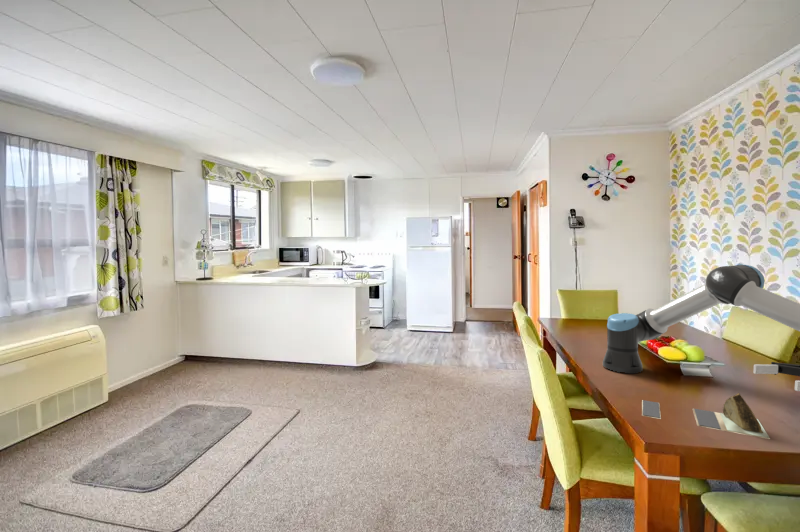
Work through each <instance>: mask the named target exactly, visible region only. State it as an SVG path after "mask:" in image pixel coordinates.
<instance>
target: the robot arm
mask: <svg viewBox="0 0 800 532" xmlns="http://www.w3.org/2000/svg"><path fill="white" fill-rule="evenodd" d="M764 286H765V277H764V275H763V273H762V271H760V269H758V268H757V267H755V266H753V265H748V264H742V263H741V264H735V265H724V266H718V267H716V268H714V269H712V270H711V271H710V272H709V273H708V274H707V276H706V279H705V283H704V284H702V285H701V286H698V287H696V288H695V289H693V290H690V291H689V292H687V293H685V294H683V295H680V296H679V297H677V298H675V299H673V300H671V301H668V302H667V303H665V304H662V305H661V306H660V307H657V308H655V309H654V308H647V309H645V310H643V311H641V312H639V313H637V314H634V313H629V312H625V313H624V312H622V313H614V314H611V315H609V316H608V318H607V324H606V330H607V332H606V335H607V336H606V337H607V342H606V344H607V345H606V346H607V347H606V352H605V354H604V357H603V360H602V367H603V366H604V367H606V368H608V369H610V370H609V371H611V370H613V371H612V372H615V371H617V372H616V373H620V372H625V373H624V374H639V373H638V372H640V373H641V371H642V372H643V363H642V360H641V358H640V354H639V343H640V342H645V341H652V340H655V339H658V338H659V337H660V336H661V335H663V334H665V333H666V332H667V331H668V329H669V327H671V326H674V325H676V324H678V323H680V322H682V321H685V320H686V319H688V318H692V317H694V316H695V315H697V314H699V313H702V312H704V311H706V310H709V309H711V308H713V307H715V306H717V305H719V304H724V305H732V306H734V307H742V306H743V307H744V308H746V309H749V310H751V311H754V312H756V313H758V314H760V315H763V316H765V317H767V318H769V319H771V320H772V321H776V322H778V323H780V324H783V325H784V326H787V327H789V328H790V329H793V330H795V331H798V332H800V303H799V302H797V301H794V300H792V299H789V298H787V297H785V296H781V295H779V294H777V293H774V292H772V291H769V290H767V289H764ZM770 363H771V364H757V363H756V364H753V372H752V373H753V374H755V375H757V374H758V375H774V376H775V375H778V374H782V375H783V374H784V375H789V376H795V377H800V364H795V363H794V364H792V363H786V362H785V363H784V362H775V361H771V362H770ZM604 367H603V368H604ZM606 368H605V369H606ZM608 369H607V370H608ZM794 391H796V392H800V380H795V381H794Z"/></svg>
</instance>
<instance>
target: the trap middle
mask: <svg viewBox="0 0 800 532" xmlns="http://www.w3.org/2000/svg"><path fill="white" fill-rule="evenodd" d="M693 409H694V410H695V413H696V416H697V420H698V423H699V426H698V427H700V426H705V427H704V428H706V427H710V428H709V429H711V428H716V429H715V430H717V429H721V428H720V426H719V423H718V421H717V418H716V416H715V413H714V412H715V411H710V410H704V409H699V408H693Z"/></svg>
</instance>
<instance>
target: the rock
mask: <svg viewBox="0 0 800 532" xmlns="http://www.w3.org/2000/svg"><path fill="white" fill-rule="evenodd" d="M722 408H723V409H722V411H723V412H722V413H723V414H724V416H726V417H727V418H729V419H730V420H731V421H733V422H734V423H735V424H737V425H738V426H740V427H741V428H743V429H746V430H749V431H753V432H758V433H763V431H762V430H761V426H760V424H759V422H760V421H759V422H758V421H757V419H758V418H757V417H756V416H755V414H754V411H753V410H752V409H751V408H750V406H749V404H748V403H747V402H746V400H745V399H744V398H743V396H742V395H741V393H739V392H738V393H737V394H735V395H733V396H730V397H728V398H727V399H726V400H725V402H724V403H723V407H722Z"/></svg>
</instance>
